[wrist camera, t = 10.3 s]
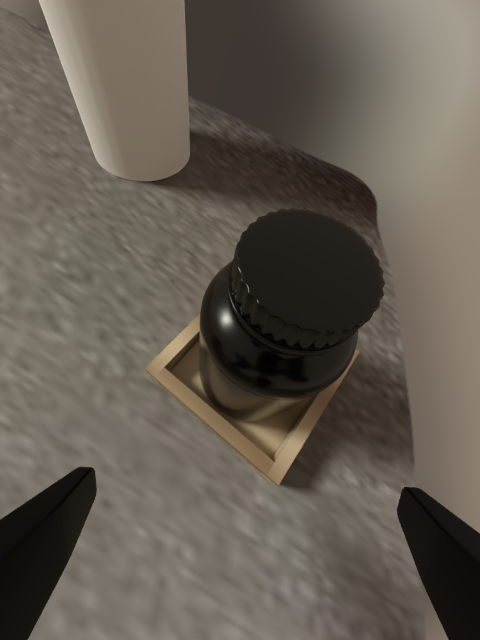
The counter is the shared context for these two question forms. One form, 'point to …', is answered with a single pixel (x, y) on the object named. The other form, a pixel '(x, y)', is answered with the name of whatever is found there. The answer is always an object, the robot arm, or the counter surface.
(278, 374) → the supplement bottle
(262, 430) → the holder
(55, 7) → the paper towel roll
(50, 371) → the counter surface
